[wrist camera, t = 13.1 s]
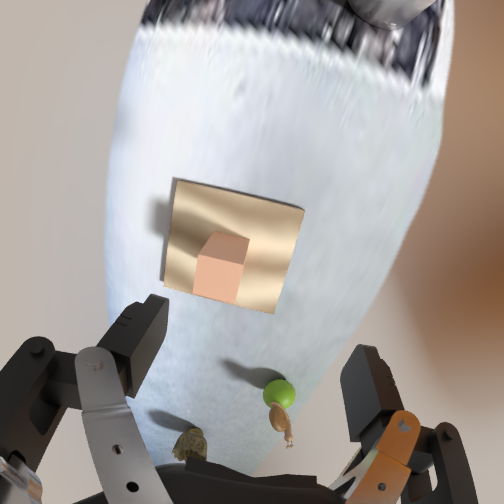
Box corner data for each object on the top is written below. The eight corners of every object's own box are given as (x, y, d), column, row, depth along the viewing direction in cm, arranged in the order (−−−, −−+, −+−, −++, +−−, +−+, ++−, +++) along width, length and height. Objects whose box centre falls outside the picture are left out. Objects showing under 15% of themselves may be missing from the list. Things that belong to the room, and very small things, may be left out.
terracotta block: (214, 231, 35) (198, 254, 28) (250, 239, 35) (243, 264, 28) (208, 264, 37) (192, 293, 29) (242, 272, 37) (234, 303, 29)
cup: (214, 439, 54) (209, 467, 46) (184, 436, 55) (177, 462, 47) (208, 423, 51) (201, 452, 44) (176, 419, 52) (167, 447, 45)
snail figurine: (276, 399, 47) (275, 452, 36) (257, 380, 45) (252, 435, 34) (302, 389, 45) (306, 443, 34) (285, 368, 44) (285, 426, 32)
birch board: (179, 180, 34) (177, 181, 33) (304, 209, 34) (304, 211, 33) (165, 283, 40) (163, 286, 39) (273, 310, 40) (273, 314, 39)
